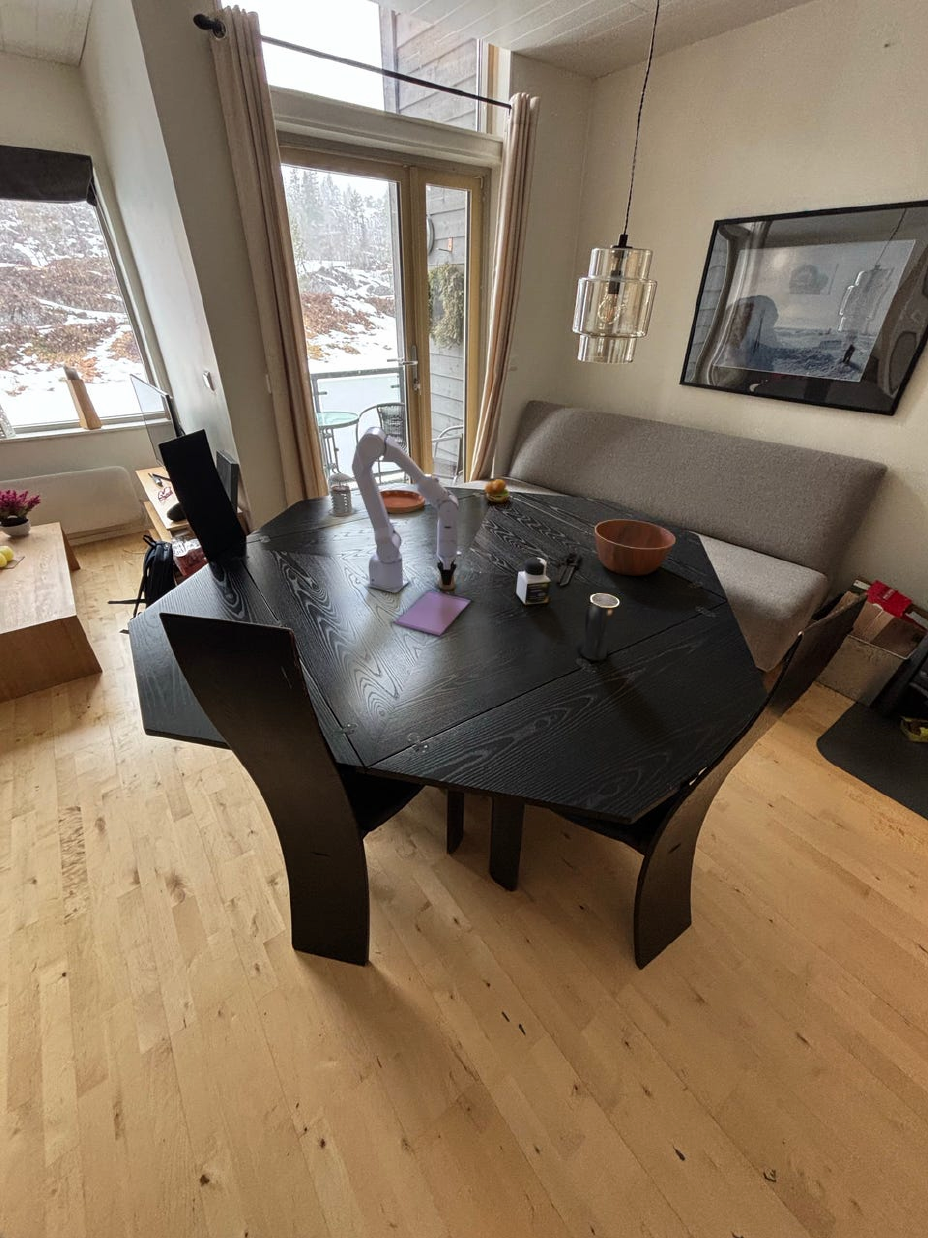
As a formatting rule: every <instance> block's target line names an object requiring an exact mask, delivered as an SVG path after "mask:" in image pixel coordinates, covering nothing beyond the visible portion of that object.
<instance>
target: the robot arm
mask: <svg viewBox="0 0 928 1238" xmlns="http://www.w3.org/2000/svg"><path fill="white" fill-rule="evenodd" d="M381 457H382V460H381V461H382V462H391V463H394V464H395V465H396V466H397V467H398V468H399V469H401V470H402V471H403V472H404V473H405V474H406V475H407V476H408V477H409V478H410V479H411V480H412V481H414V483H415V488H416V489H415V490H416V491H417V493H419V494H421V495H422V496H423V497H424V498H425V501H426V502H428V504H429V505H431V507H433V508H435V509H436V514H437V516H438V521H437V525H436V526H437V528H436V529H437V531H436V532H437V534H436V535H437V537H436V539H437V540H436V543H437V544H436V545H437V546H436V547H437V548H436V557H437V559H438V560H439V562H436V568H437V569H438V572H439V571H440V574H441V578H442V583H443V585H450V584H451V580H452V576H453V573H454V574H455V571H456V570H457V568H458V564H457V563H455V561H456V559H457V558H458V557H461V556H462V551H460V550H459V551H458V537H459V536H458V535H459V523H458V521H459V517H458V516H459V513H460V510H459V501H458V498H457V497H456V494H454V493H452V492H451V490H447V488H445V486H443V485H442V483H440V478H439V477H438V476H437V475H435V476H434V475H433V474H432V473H425V472H423V470H422V469H421V468H420V467H419V465H417V463H416V462H415V461H414V460H413V459H412V458H411V457H410V455H409V454H408V453H407V452H406V451H405V450H404V448H403V447H402V446H401V445H400V444H399V443H398V441H396V440H395V438H393V436H391V435H389V434H388V433H387V432H386V430H385V429H383V428H382V427H380V426H375V425H373V426H370V427H369V428H368V429H366V431H365V432H364V434H363V435H362V436H361V438H360V439H359V441H358V442H357V443H356V444H355V450H354V454H353V458H352V463H351V471H352V474H353V475H354V476H353V477H354V479H355V482H356V485H357V487H358V490H359V493H360V496H361V498H362V502H363V504H364V506H365V509H366V512H367V514H368V515H367V516H368V517H369V520H370V523H371V526H372V528H373V533H374V541H375V545H376V550H375V553H374V554H372V555H371V557H370V559H369V561H368V578H369V580H368V581H369V583H368V584H367V585H368V587H370V588H374V589H377V590H381V591H385V592H389V593H392V594H396V593H398V592H399V591H401V590H402V589H403V588H404V587H405V586H407V585H408V584H409V583H410V582H409V580H408V579H404V571H403V554H402V553H401V551H400V548H401V545H402V542H403V541H402V537H401V535H400V534H399V533H398V531H397V530H396V529H395V526H394V524H393V523H392V522H391V520H390V518H389V517H390V516H389V515H388V512H387V511H386V508H385V505H384V502H383V499H382V497H381V494H380V488H379V485H378V482H377V479H376V475H375V474H374V470H373V466H374V464H375V462H377V461H378V460H379V459H380V458H381Z"/></svg>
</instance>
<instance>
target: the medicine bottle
mask: <svg viewBox="0 0 928 1238" xmlns="http://www.w3.org/2000/svg"><path fill="white" fill-rule="evenodd" d="M547 564H548V563H547V561H546V560H545V559H544V558H541V557H528V558H527V559H525V561H524V569H523V571H518V574H517V582H516V590H515V591H516V592H515V593H516V595H517V596H518V597H519V599H520V600H521V601H522V603H523V604H524V605H525V606H526V605H534V604H544V603H548V602H549V594H550V588H551V579H550V578H549V577H548V576H547V575H546V574H547V573H546V571H547V566H548V565H547Z"/></svg>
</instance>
